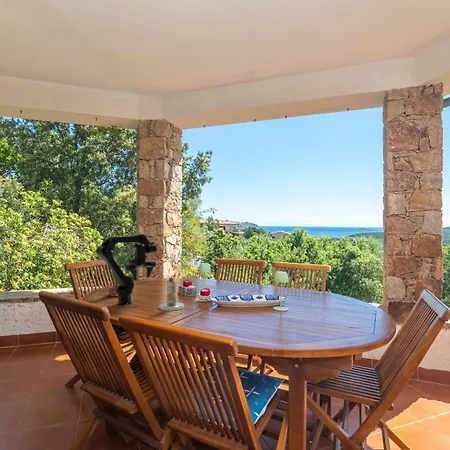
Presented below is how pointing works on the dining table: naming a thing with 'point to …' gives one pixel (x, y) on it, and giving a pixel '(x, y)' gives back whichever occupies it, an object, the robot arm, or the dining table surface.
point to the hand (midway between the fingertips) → (141, 279)
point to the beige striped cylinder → (171, 292)
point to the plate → (171, 307)
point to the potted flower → (113, 288)
